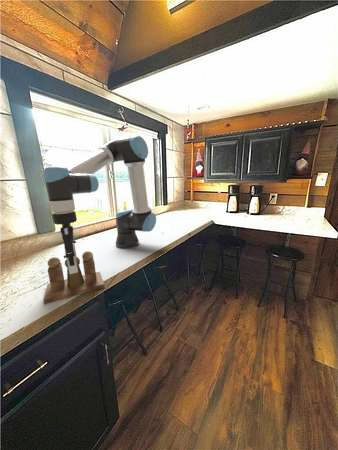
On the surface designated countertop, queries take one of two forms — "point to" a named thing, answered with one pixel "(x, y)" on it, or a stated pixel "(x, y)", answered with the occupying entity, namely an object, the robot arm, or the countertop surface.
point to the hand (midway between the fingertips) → (73, 265)
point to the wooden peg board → (57, 283)
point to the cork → (74, 276)
